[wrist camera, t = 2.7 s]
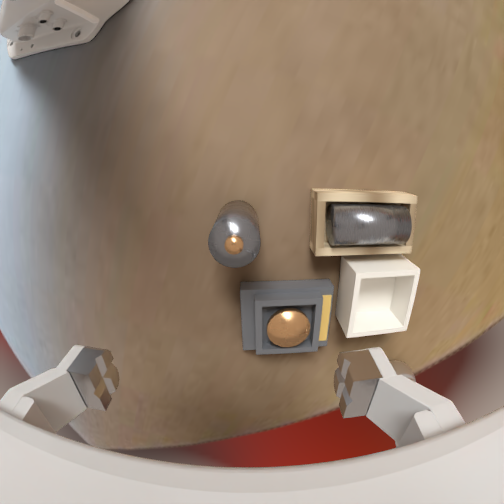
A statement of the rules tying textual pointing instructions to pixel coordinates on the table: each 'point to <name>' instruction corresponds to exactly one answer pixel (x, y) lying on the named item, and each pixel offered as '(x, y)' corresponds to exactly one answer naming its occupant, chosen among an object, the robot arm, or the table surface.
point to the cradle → (279, 297)
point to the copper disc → (288, 327)
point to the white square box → (375, 293)
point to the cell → (235, 235)
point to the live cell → (367, 224)
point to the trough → (349, 196)
